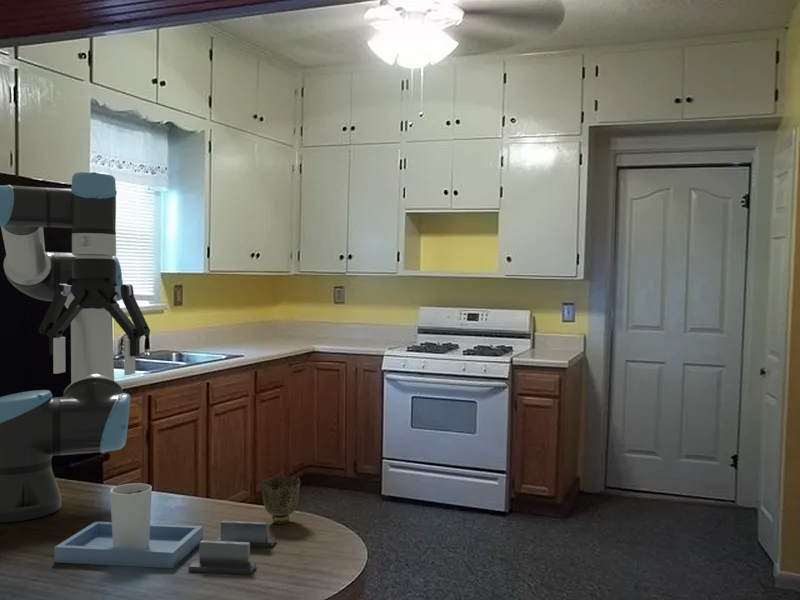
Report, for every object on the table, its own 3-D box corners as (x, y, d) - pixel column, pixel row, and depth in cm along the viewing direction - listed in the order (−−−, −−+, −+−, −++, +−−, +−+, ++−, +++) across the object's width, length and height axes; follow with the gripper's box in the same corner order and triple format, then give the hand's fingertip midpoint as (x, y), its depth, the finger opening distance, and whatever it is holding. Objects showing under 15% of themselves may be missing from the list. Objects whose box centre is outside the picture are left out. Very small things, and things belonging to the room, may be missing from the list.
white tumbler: (132, 538, 131) (132, 481, 131) (160, 544, 128) (160, 486, 128) (101, 549, 126) (101, 490, 125) (129, 557, 122) (129, 496, 122)
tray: (95, 535, 134) (95, 521, 134) (202, 540, 132) (202, 526, 132) (54, 562, 121) (54, 547, 121) (172, 568, 119) (172, 552, 119)
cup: (254, 526, 140) (254, 483, 140) (271, 514, 147) (271, 474, 147) (290, 530, 138) (291, 487, 138) (306, 518, 145) (306, 477, 145)
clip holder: (221, 539, 133) (221, 516, 133) (276, 541, 132) (276, 519, 132) (188, 571, 118) (188, 546, 118) (250, 574, 117) (250, 549, 117)
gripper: (17, 256, 134) (18, 374, 135) (150, 257, 132) (150, 377, 132) (41, 258, 142) (42, 369, 142) (168, 258, 139) (168, 372, 140)
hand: (94, 373), depth 137 cm, fingers open, 13 cm apart
